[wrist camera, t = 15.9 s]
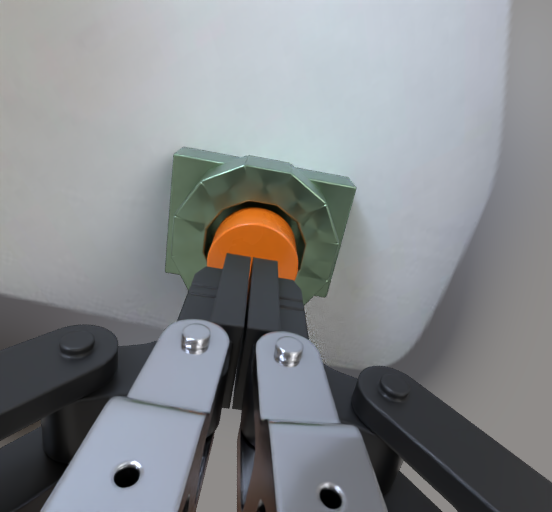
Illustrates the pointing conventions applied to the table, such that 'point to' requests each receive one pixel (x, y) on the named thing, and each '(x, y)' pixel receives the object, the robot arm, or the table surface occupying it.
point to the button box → (263, 194)
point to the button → (256, 240)
